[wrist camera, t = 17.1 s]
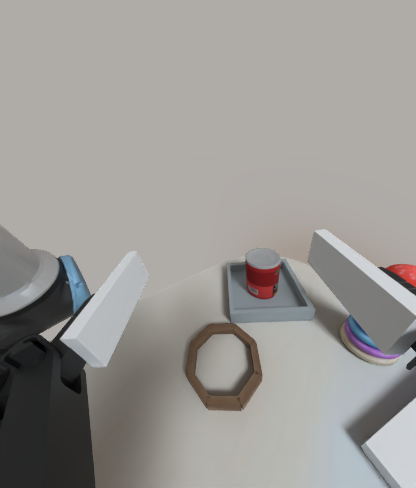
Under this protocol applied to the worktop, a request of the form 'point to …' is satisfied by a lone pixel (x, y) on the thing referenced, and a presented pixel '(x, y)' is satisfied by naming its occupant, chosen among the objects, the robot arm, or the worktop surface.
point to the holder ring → (242, 399)
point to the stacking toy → (360, 340)
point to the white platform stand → (395, 448)
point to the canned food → (262, 272)
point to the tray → (267, 310)
